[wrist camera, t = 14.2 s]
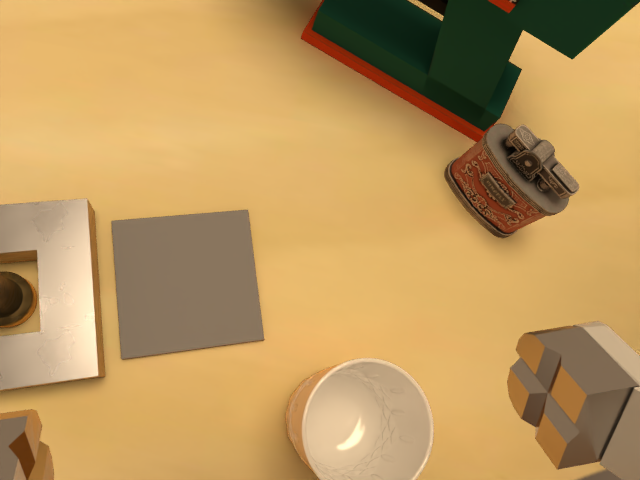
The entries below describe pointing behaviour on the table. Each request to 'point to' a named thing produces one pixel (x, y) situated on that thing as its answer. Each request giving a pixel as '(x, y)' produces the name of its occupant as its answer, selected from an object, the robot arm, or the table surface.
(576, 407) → the robot arm
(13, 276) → the dark grey peg
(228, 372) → the table surface
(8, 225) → the grey square frame
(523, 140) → the lighter
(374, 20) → the power tool
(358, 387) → the white cup
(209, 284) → the grey square plate
